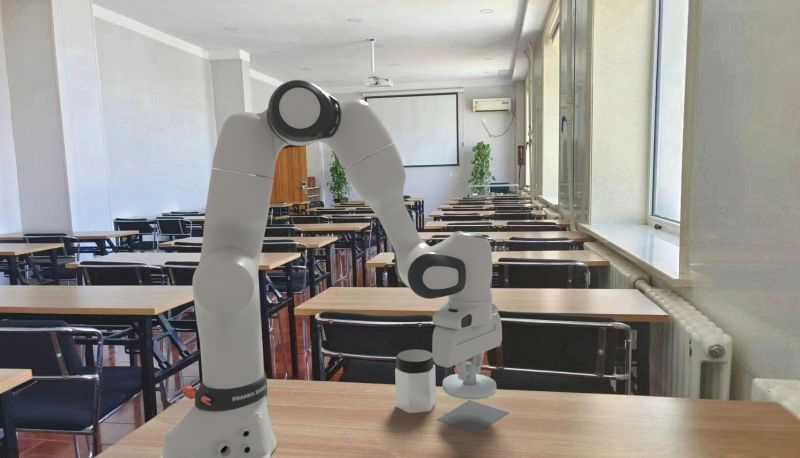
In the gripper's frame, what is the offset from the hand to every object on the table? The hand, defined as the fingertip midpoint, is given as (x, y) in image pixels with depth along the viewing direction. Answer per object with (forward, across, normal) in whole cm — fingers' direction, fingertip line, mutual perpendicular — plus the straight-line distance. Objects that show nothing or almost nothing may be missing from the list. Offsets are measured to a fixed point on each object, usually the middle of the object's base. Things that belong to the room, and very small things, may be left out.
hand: (469, 376), depth 109 cm
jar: (+10, +2, -12) cm, 16 cm away
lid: (+3, 0, 0) cm, 3 cm away
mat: (+10, -1, 0) cm, 10 cm away
